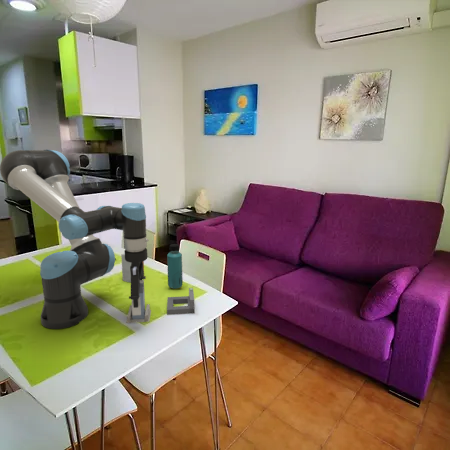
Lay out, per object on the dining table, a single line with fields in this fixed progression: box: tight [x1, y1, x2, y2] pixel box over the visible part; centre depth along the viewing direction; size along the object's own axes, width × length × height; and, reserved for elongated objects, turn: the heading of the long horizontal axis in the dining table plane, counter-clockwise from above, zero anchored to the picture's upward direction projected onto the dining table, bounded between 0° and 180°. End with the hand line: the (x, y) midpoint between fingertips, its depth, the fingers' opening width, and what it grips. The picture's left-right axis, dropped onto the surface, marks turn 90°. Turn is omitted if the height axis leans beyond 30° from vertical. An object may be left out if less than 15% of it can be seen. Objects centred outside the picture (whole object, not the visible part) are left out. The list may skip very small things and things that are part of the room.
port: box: [166, 287, 195, 316], centre depth 122 cm, size 10×10×7 cm
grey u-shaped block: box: [125, 303, 152, 324], centre depth 116 cm, size 8×8×3 cm
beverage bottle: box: [166, 243, 184, 289], centre depth 138 cm, size 6×7×20 cm
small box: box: [120, 252, 145, 283], centre depth 147 cm, size 8×6×13 cm
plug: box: [132, 282, 146, 319], centre depth 114 cm, size 4×4×12 cm
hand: (138, 305), depth 115 cm, fingers open, 13 cm apart
